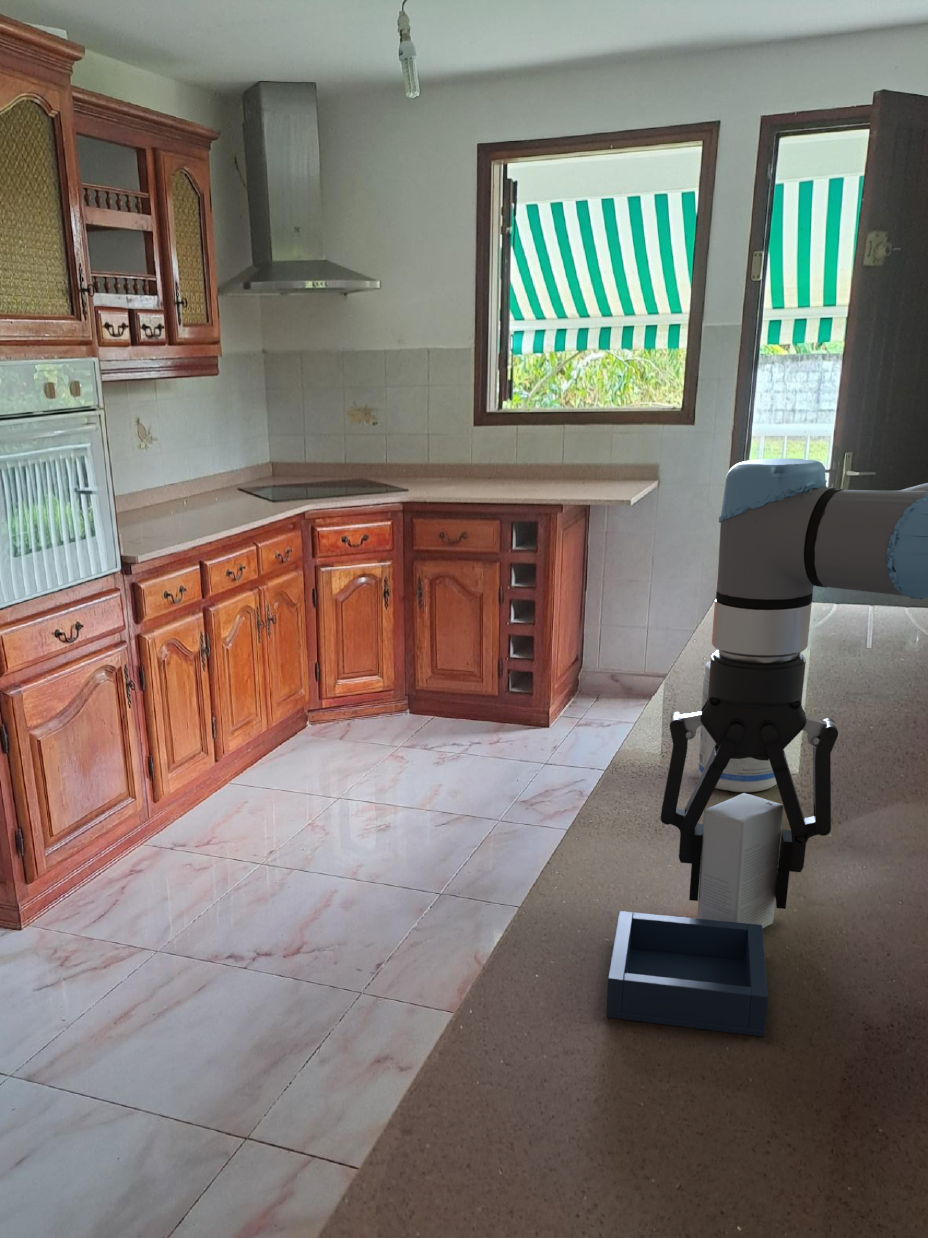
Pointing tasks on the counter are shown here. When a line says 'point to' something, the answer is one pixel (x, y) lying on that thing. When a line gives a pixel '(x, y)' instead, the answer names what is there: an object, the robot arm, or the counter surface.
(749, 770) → the supplement tub
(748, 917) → the cosmetic box
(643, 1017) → the holder
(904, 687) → the counter surface
